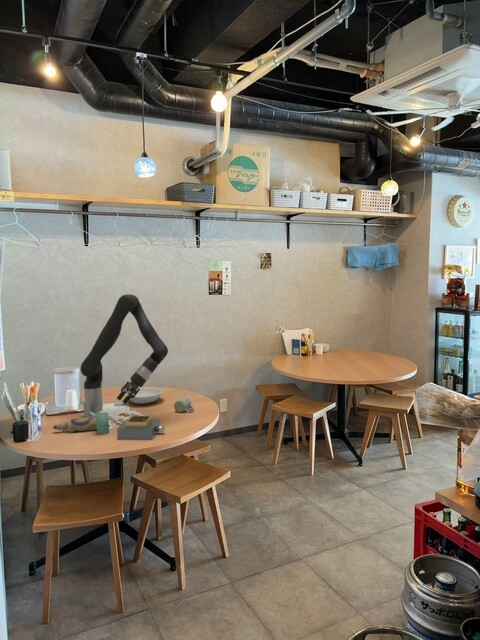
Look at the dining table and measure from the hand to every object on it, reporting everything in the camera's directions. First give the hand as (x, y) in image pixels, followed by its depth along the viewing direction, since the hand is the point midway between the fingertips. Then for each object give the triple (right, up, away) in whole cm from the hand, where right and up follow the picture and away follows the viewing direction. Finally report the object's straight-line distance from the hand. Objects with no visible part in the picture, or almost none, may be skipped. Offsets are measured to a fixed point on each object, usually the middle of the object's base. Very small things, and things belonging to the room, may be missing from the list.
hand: (120, 401), depth 239 cm
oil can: (-9, -15, -5) cm, 19 cm away
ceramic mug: (+29, -11, +30) cm, 43 cm away
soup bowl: (+2, -10, +50) cm, 51 cm away
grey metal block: (+13, -15, -6) cm, 21 cm away
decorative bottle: (-20, -15, +2) cm, 26 cm away
